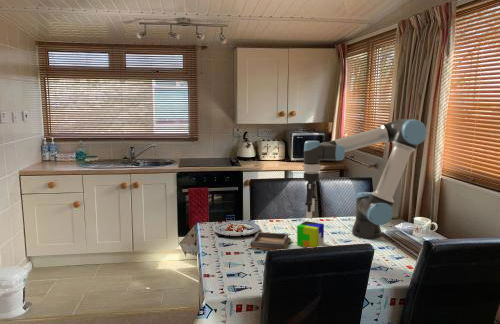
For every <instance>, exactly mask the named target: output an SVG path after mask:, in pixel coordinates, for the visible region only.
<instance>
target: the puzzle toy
mask: <svg viewBox="0 0 500 324" xmlns="http://www.w3.org/2000/svg"><path fill="white" fill-rule="evenodd" d="M324 229H325V224H324V223H320V222H314V221H307V220H305V221H303V222H302V223H300V224H299V225H297V228H296V233H297V235H296V246H299V247H305V248H308V247H317V246H319V247H320V246H322V245H324V237H325V236H324V235H325V230H324Z"/></svg>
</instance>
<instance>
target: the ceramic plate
mask: <svg viewBox="0 0 500 324" xmlns="http://www.w3.org/2000/svg"><path fill="white" fill-rule="evenodd" d="M231 223H239V224H247V225H250V226H252V227H253V228H254V230H253V231H252V232H250V233H246V234H226V233H222V232H221V231H219V227H221V226H223V225H226V224H229V225H228V226H229V227H227V228H226V230H225V231H233V229H231V228H235V227H236V226H237V225H233V224H231ZM230 227H231V228H230ZM242 228H243V230H244V229H246V227H245V226H244V225H239V226H238V228H237V229H234V230H235V231H236V232H243V230H242ZM248 229H250V228H247V230H248ZM260 229H261V226H260V224H257V223H255V222H251V221H245V220H234V221H233V220H232V221H225V222H222V223H218V224H216V225H215V226H214V227H213V230H214V232H215V233H217V234H220V235H224V236H229V235H230V236H229V237H240V236H241V235H243V236H248V235H251V234H255V233H258V232H260Z"/></svg>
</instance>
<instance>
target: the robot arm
mask: <svg viewBox="0 0 500 324" xmlns="http://www.w3.org/2000/svg"><path fill="white" fill-rule="evenodd" d="M427 131H428V130H427V128H426V125H425V124H424V122H422V121H420V120H419V119H414V118H411V119H410V118H399V119H395V120H393V121H389V122H387V123H383V124H381V125H380V127H376V128H373V129H369V130H366V131H362V132H359V133H356V134H352V135H347V136H344V137H341V138H337V139H334V140H330V141H322V142H321V143H320V141H319V140H306V141H305V142H304V144H303V145H304V146H303V165H302V168H303V180H304V181H306V182H307V184H306V202H305V203H304V205H305V206H306V208H305V209H306V210H305V211H306V212H305V215H306V216H305V217H306V219H313V212H315V201H316V199H317V196H316V182H318V181H319V180H320V161H342V160H344V159H345V155H346V153H347V152H350V151H353V150H357V149H361V148H364V147H369V146H372V145H376V144H379V143H383V142H384V143H386V144H387V143H392V146H393V147H392V150H391V152H390V155H389V157H388V159H387V162H386V164H385V166H384V169H383V172H382V174H381V176H380V179H379V181H378V184H377V185H376V189H375V190H373V191H371V192H369V191H361V192H357V193H356V198H355V199H356V200H355V204H356V205H355V207H356V208H355V221H354V224H353V226H352V230H351V232H352V234H351V235H353V236H355V237H356V238H361V239H367V240H369V239H370V240H371V239H378V238H380V237H382V229H381V226H383V225H386V224H387V223H389V222H390V221H391V220H392V218H393V216H394V211H393V206H394V205H395V200H394V199H393V197H394V195H395V192H396V189H397V188H398V185H399V183H400V181H401V179H402V175H403V173H404V171H405V168H406V166H407V163H408V161H409V159H410V157H411V154H412V153H413V152H414V151H416V150H417V148H418V146H419V144H422V143H423V142H424V141H425V139H426V138H427V135H428V134H427Z"/></svg>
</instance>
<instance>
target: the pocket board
mask: <svg viewBox="0 0 500 324" xmlns="http://www.w3.org/2000/svg"><path fill="white" fill-rule="evenodd" d="M289 242H291V236H289V234H288V233H279V232H263V231H257V232H256V234H255V236H254V237H253V238H252V239H251V240H250V243H249V244H248V246H247V247H251V248H259V249H258V250H261V249H266V250H265V251H273V250H277V249H287V247H288V245H289Z"/></svg>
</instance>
